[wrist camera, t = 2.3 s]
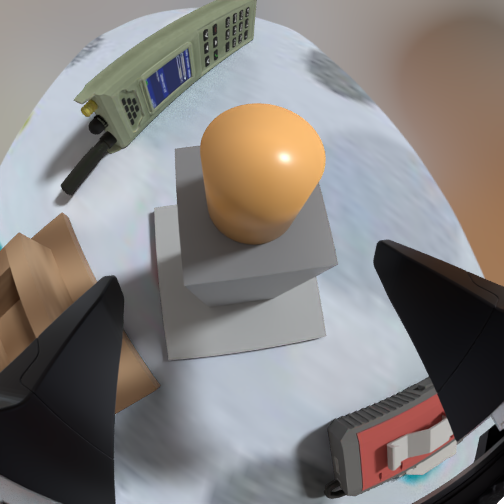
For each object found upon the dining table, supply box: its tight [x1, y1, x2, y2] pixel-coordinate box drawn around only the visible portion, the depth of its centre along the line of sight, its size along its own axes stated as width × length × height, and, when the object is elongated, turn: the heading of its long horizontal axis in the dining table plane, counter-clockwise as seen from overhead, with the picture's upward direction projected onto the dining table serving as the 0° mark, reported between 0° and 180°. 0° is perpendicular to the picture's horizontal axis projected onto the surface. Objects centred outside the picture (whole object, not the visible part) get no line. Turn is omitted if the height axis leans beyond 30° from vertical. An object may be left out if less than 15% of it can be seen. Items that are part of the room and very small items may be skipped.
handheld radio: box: [61, 0, 257, 195], centre depth 18 cm, size 7×3×25 cm
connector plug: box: [175, 104, 338, 307], centre depth 11 cm, size 4×4×13 cm
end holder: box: [0, 213, 160, 414], centre depth 13 cm, size 14×14×5 cm
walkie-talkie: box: [324, 377, 480, 499], centre depth 15 cm, size 9×4×20 cm
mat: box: [154, 205, 326, 360], centre depth 18 cm, size 10×10×1 cm
